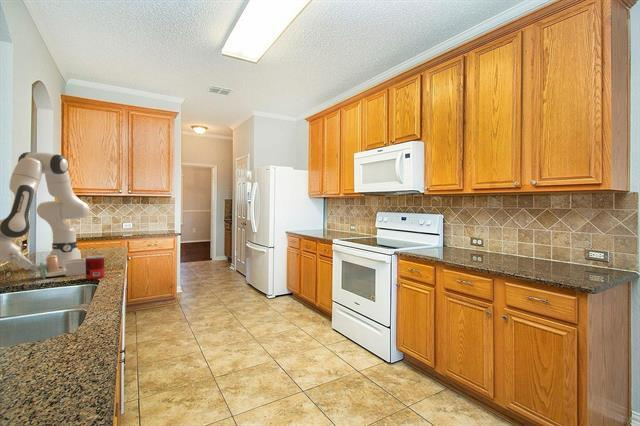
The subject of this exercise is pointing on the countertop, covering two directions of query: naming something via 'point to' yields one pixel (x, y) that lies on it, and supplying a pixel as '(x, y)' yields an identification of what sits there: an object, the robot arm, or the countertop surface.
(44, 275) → the tray
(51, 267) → the jar
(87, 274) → the canned food
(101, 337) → the countertop surface
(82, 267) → the housing
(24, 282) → the countertop surface
